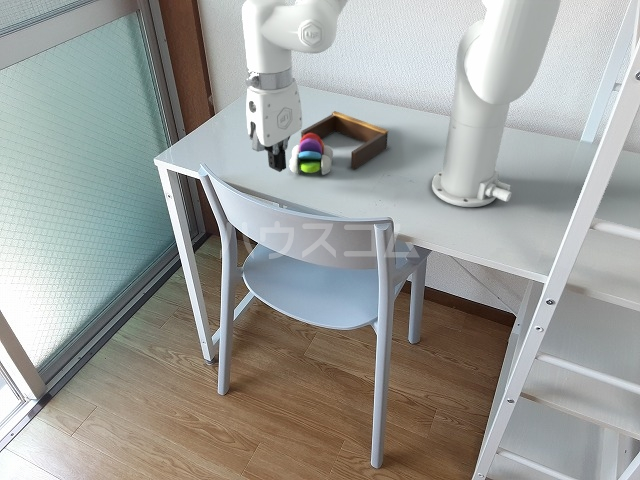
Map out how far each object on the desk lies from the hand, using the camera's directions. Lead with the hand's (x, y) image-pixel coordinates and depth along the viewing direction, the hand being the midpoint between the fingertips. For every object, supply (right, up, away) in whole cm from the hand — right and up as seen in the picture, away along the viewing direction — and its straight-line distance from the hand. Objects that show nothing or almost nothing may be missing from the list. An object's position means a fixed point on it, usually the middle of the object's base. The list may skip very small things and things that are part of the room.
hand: (277, 167), depth 100 cm
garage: (+13, +6, +14) cm, 20 cm away
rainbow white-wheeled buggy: (+7, +1, +8) cm, 11 cm away
